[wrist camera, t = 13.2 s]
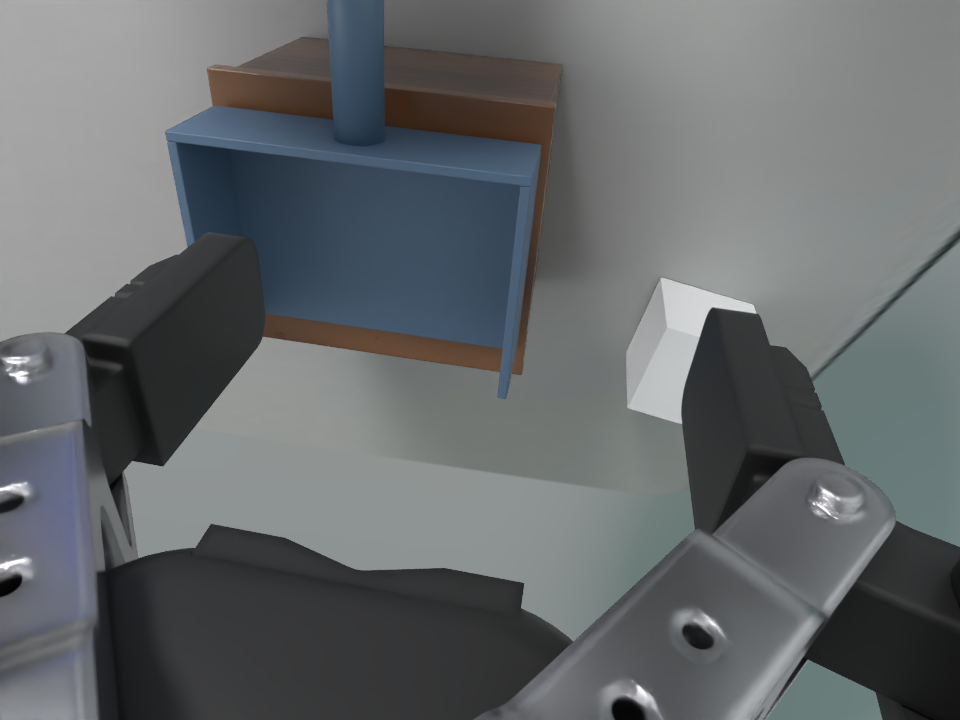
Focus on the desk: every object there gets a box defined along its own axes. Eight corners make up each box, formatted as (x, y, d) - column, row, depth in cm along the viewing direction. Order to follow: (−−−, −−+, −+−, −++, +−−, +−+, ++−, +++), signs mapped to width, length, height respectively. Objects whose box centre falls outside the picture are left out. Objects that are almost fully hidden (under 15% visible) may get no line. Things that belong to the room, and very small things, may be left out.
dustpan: (517, 346, 34) (506, 399, 31) (248, 306, 36) (208, 352, 32) (579, -160, 22) (572, -170, 19) (175, -191, 24) (97, -206, 20)
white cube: (660, 276, 42) (667, 326, 37) (753, 304, 42) (772, 357, 37) (625, 353, 45) (627, 408, 40) (711, 378, 45) (723, 436, 40)
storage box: (295, 30, 37) (206, 68, 29) (569, 58, 36) (555, 106, 27) (315, 268, 45) (250, 349, 37) (537, 299, 44) (519, 390, 36)
